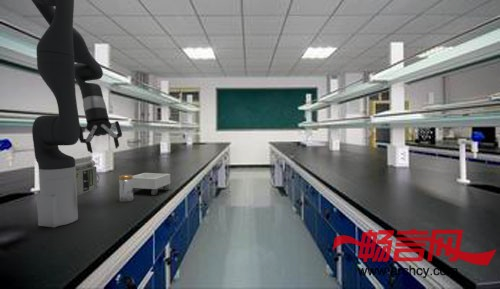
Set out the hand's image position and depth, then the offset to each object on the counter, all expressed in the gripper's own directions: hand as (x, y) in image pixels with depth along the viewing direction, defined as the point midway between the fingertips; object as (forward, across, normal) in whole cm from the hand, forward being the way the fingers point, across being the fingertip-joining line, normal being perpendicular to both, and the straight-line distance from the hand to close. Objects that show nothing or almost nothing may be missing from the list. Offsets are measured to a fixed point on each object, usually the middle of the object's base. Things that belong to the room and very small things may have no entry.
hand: (104, 150), depth 99 cm
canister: (+20, +4, +10) cm, 22 cm away
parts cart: (+18, +14, +19) cm, 30 cm away
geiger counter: (+10, -12, +33) cm, 36 cm away
